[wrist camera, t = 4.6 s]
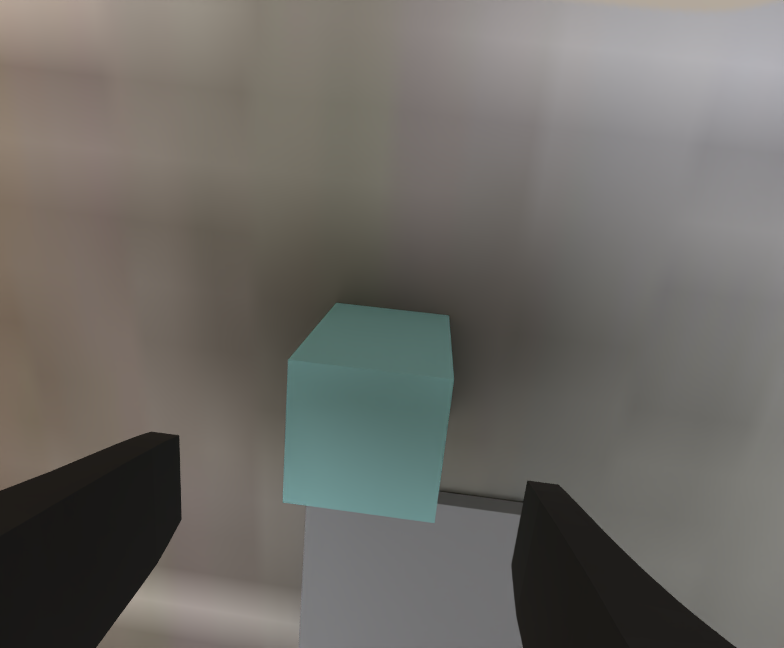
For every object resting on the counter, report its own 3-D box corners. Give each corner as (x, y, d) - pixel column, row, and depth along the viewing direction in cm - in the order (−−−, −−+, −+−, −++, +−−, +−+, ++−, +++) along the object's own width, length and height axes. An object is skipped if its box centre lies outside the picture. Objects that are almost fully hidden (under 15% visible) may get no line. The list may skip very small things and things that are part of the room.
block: (448, 315, 18) (454, 379, 12) (435, 418, 19) (434, 522, 13) (336, 302, 18) (288, 359, 12) (329, 405, 19) (282, 502, 13)
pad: (544, 505, 19) (548, 518, 19) (511, 666, 22) (513, 684, 21) (312, 474, 20) (307, 486, 19) (303, 635, 22) (298, 651, 21)
